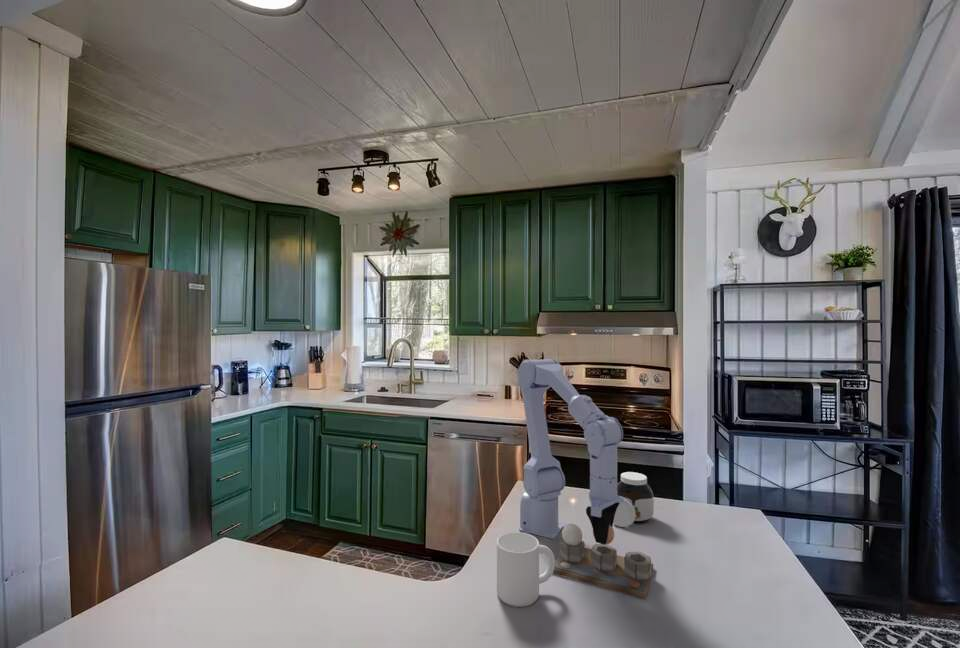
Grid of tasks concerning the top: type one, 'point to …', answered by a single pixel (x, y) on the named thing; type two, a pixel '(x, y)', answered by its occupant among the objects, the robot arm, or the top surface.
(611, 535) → the terracotta ball
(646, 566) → the brown egg holder tray
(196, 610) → the top surface
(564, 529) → the cream ball
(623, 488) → the spread jar
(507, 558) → the mug
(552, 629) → the top surface
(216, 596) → the top surface
